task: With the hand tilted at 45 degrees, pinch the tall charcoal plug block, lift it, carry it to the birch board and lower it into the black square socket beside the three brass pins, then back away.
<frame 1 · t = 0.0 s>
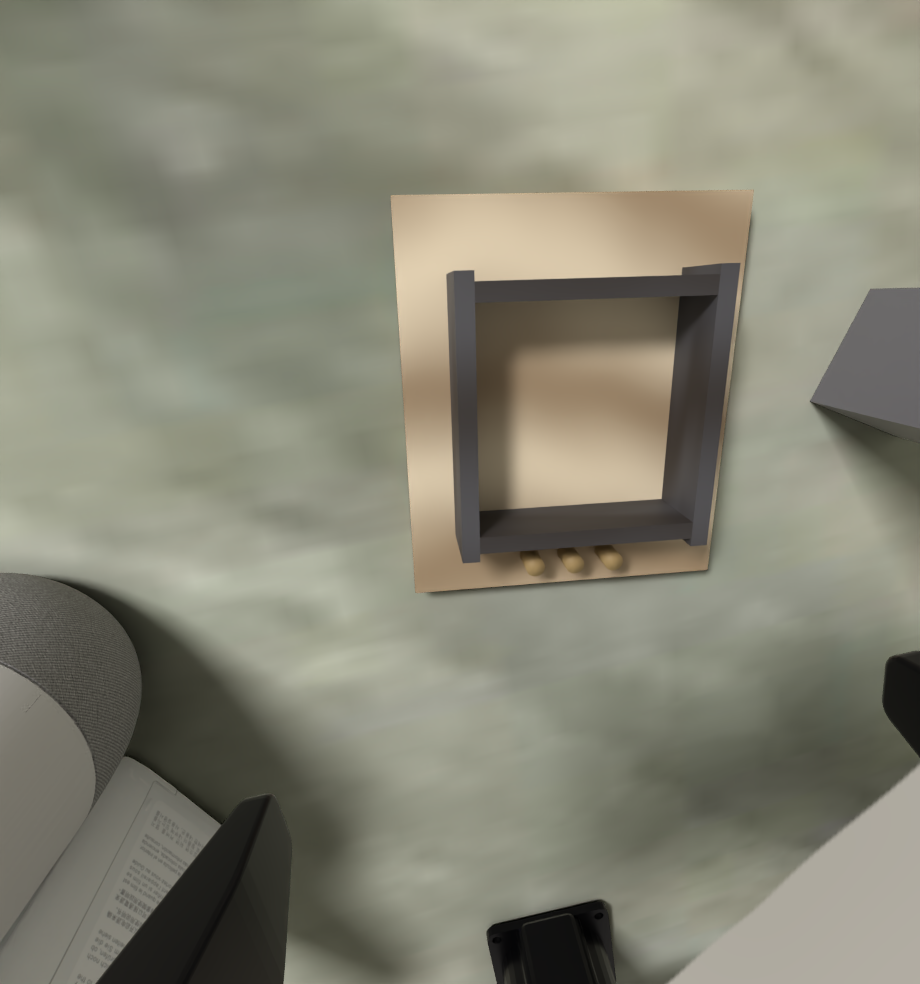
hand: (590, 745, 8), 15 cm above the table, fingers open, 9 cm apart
smart speaker: (42, 652, 23), on the table
plug block: (884, 366, 23), on the table
socket board: (563, 403, 22), on the table
photo printer: (176, 824, 26), on the table
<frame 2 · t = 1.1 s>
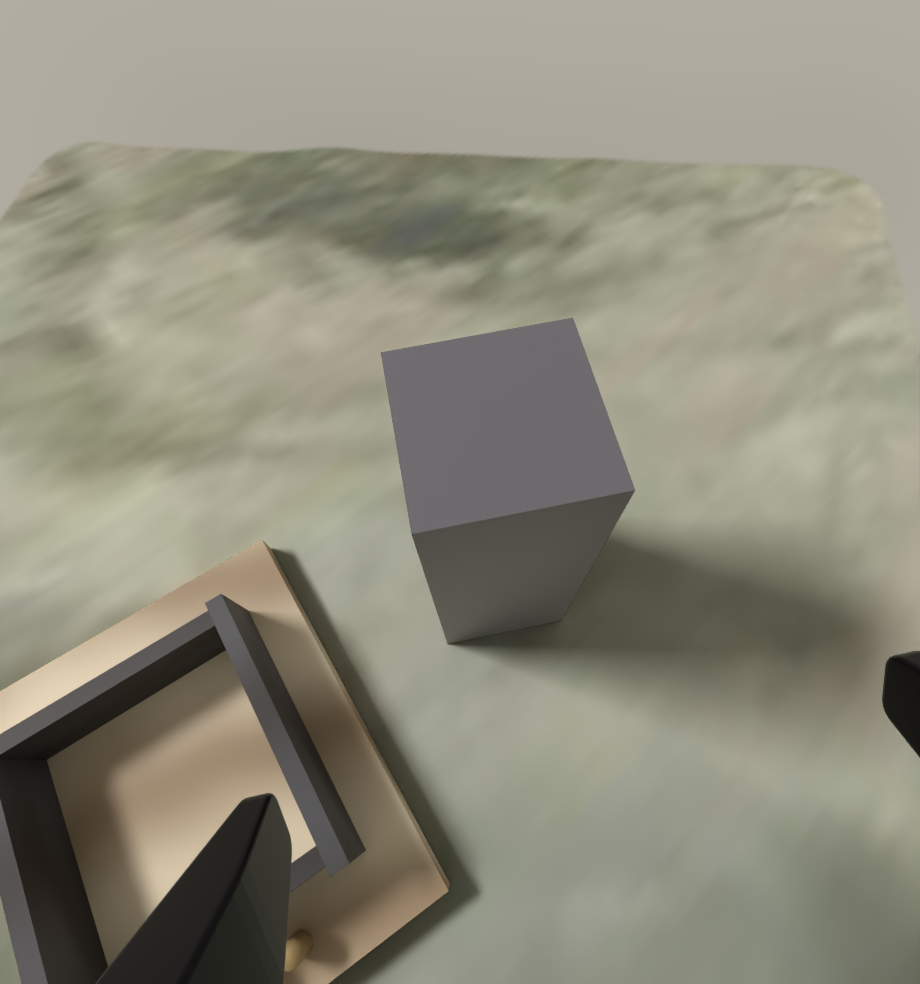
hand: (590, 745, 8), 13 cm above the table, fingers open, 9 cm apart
plug block: (492, 577, 23), on the table
socket board: (200, 794, 20), on the table
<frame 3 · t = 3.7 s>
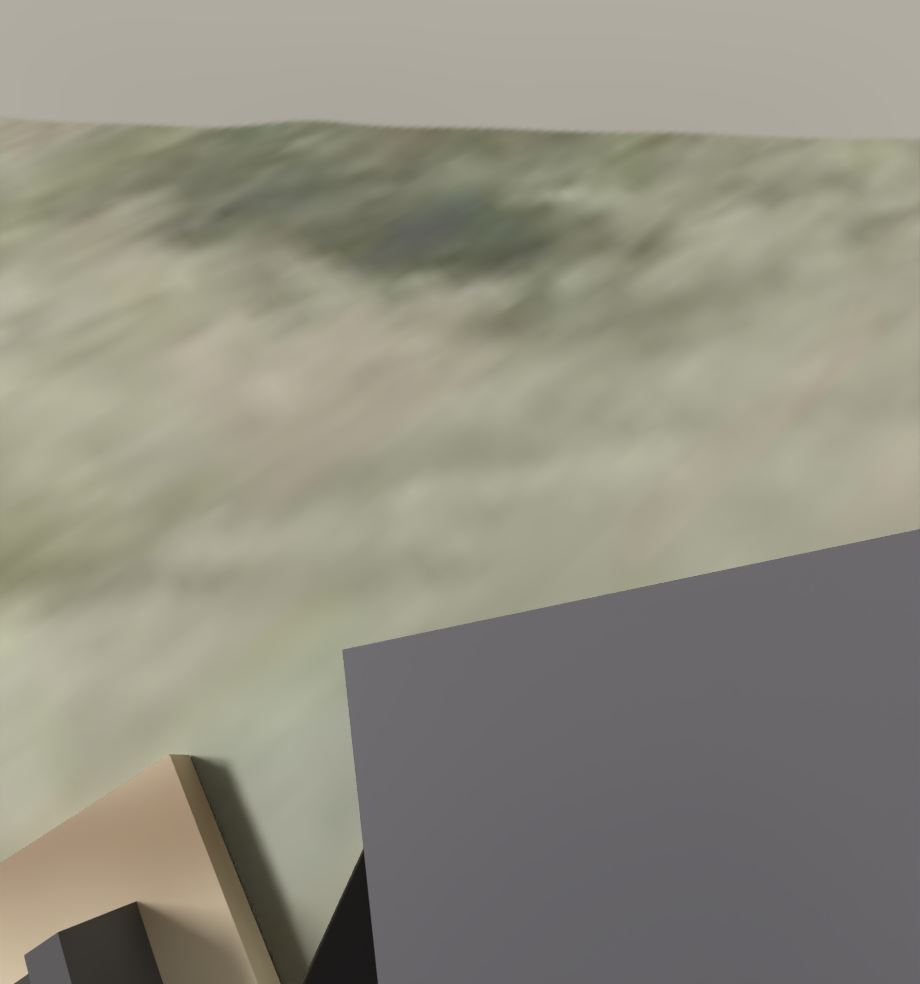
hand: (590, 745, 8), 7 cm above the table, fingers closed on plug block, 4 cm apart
plug block: (561, 816, 14), on the table, touching gripper
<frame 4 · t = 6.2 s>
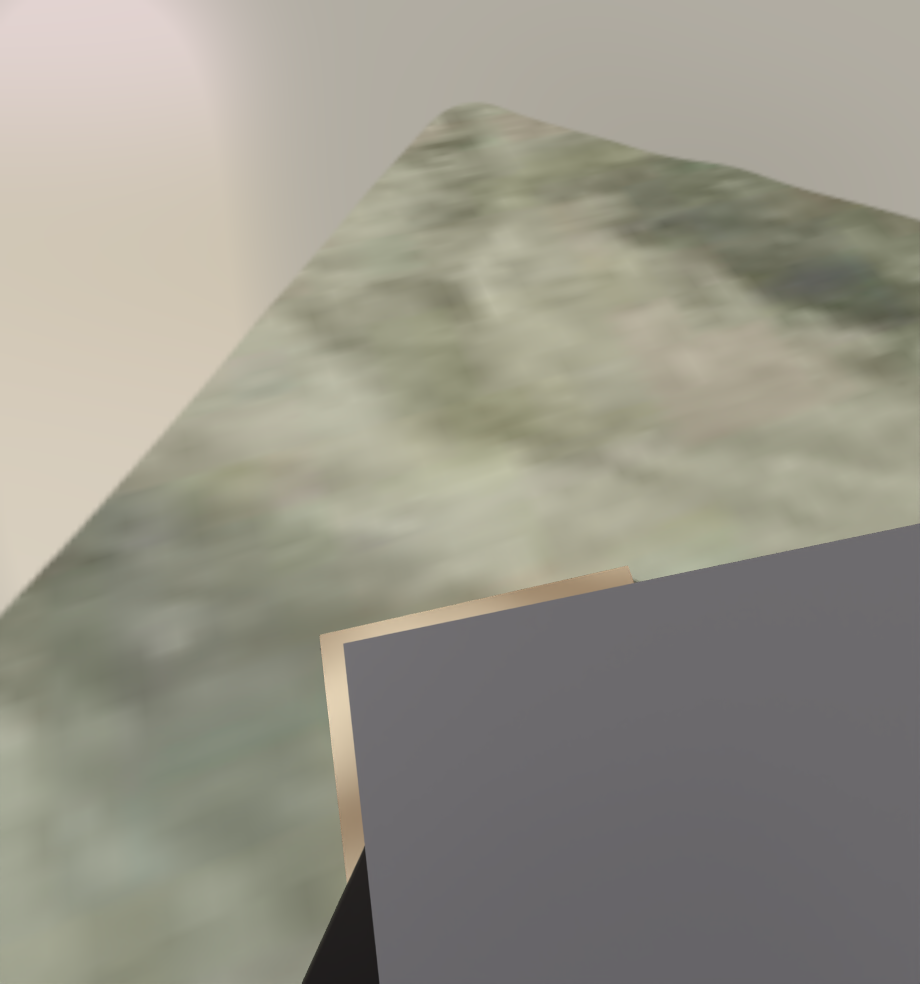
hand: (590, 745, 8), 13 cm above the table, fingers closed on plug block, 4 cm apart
plug block: (561, 814, 14), point 7 cm above the table, touching gripper
socket board: (522, 802, 20), on the table
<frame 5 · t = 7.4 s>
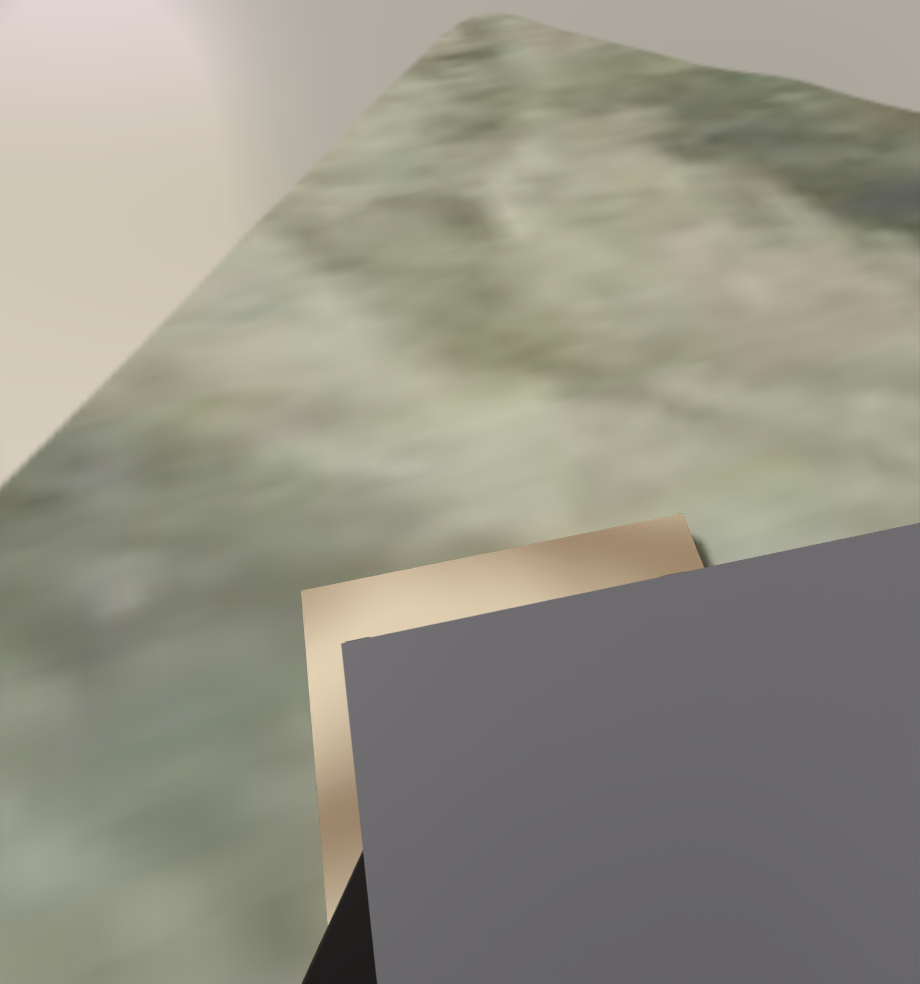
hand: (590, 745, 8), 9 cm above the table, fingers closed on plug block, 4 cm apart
plug block: (561, 814, 14), point 2 cm above the table, touching gripper
socket board: (551, 803, 15), on the table
when the fingers open (8 cm above the table, at t = 8.5 s): plug block stays where it is, resting on socket board.
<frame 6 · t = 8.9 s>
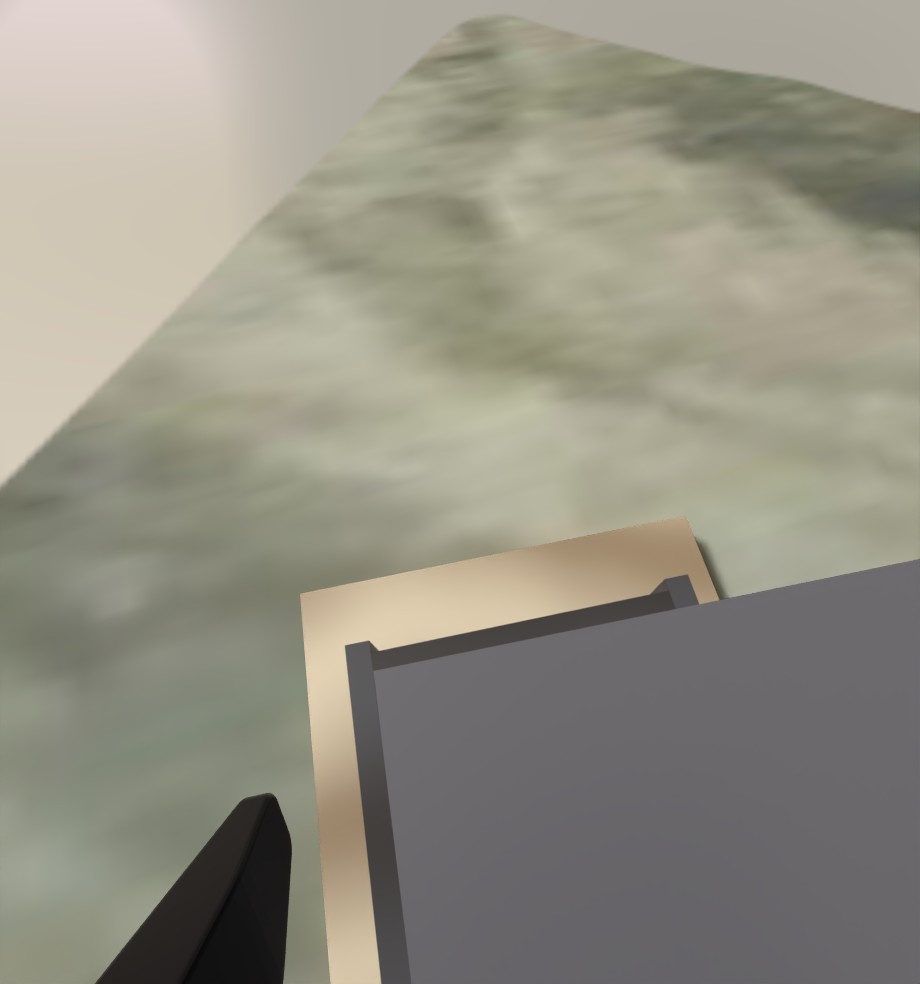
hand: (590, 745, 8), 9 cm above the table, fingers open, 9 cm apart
plug block: (557, 812, 14), point 1 cm above the table, touching socket board
socket board: (553, 809, 15), on the table
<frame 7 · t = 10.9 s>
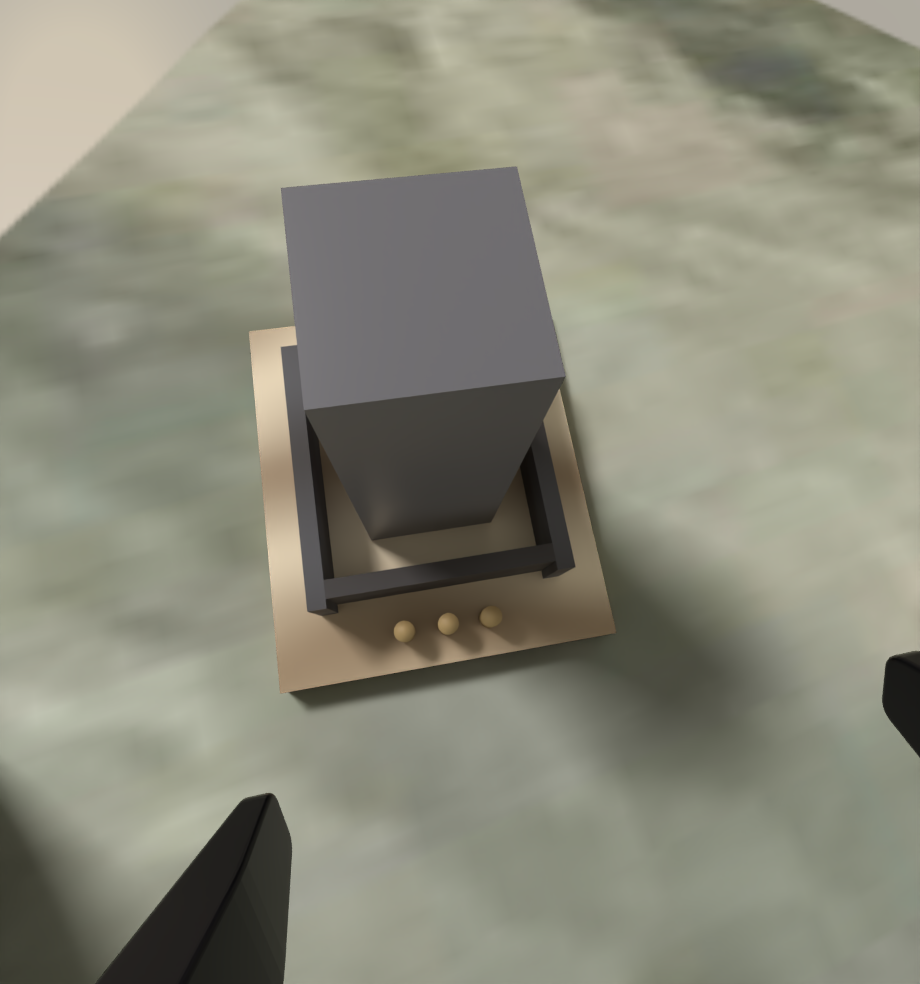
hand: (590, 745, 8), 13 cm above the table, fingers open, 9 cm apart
plug block: (422, 474, 22), point 1 cm above the table, touching socket board
socket board: (423, 481, 23), on the table
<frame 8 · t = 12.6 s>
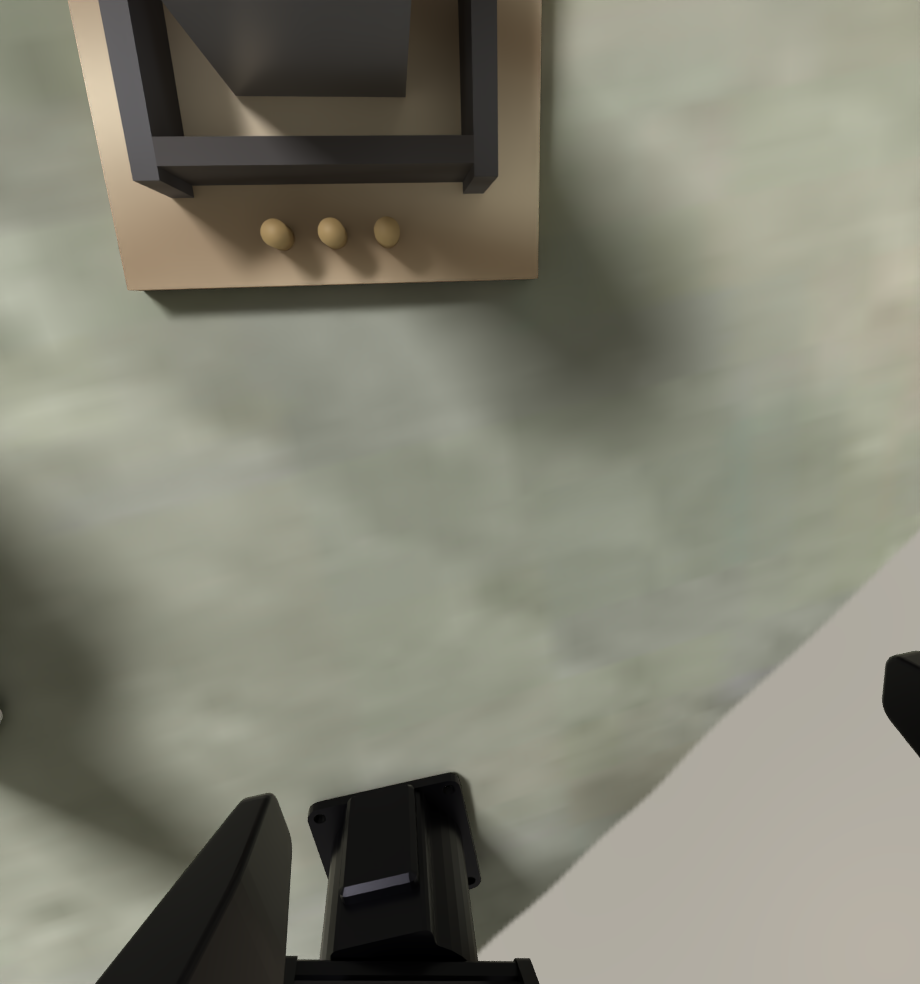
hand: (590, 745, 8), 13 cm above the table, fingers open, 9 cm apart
socket board: (317, 12, 16), on the table
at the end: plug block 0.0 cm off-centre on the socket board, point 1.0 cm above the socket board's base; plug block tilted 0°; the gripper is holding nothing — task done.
